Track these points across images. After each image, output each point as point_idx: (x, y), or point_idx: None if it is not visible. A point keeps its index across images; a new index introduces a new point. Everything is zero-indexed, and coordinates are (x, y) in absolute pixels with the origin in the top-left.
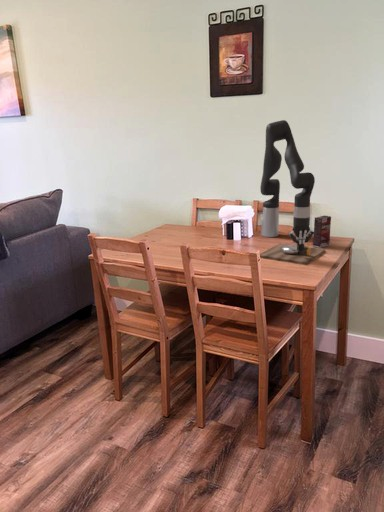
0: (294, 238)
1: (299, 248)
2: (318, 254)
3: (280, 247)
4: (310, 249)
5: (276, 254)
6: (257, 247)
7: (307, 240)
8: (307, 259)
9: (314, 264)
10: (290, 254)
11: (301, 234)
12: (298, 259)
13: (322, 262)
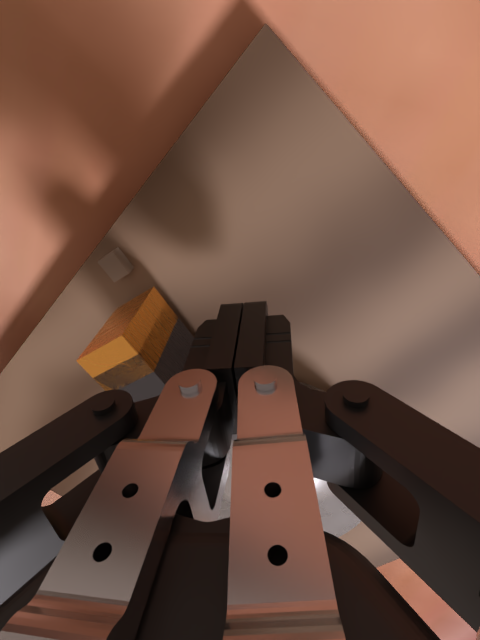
0: (472, 483)
1: (273, 331)
2: (29, 336)
3: None
4: (95, 339)
5: (450, 430)
6: (439, 604)
7: (88, 417)
8: (196, 176)
9: (142, 30)
10: None
11: (235, 592)
12: (310, 208)
13: (22, 101)
